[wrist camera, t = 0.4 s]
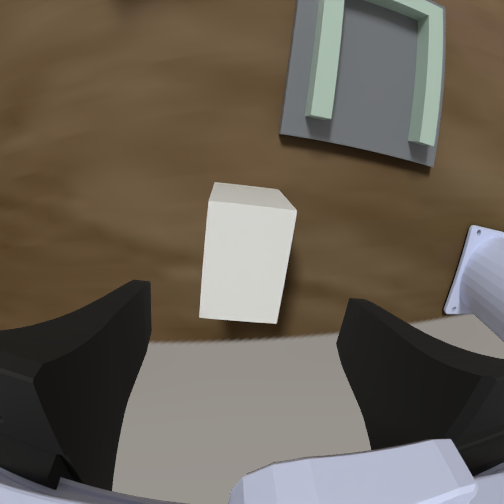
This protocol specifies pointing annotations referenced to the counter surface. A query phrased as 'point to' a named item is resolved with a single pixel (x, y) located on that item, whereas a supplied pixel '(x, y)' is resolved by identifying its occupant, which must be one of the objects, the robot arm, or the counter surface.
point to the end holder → (367, 75)
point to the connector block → (245, 253)
